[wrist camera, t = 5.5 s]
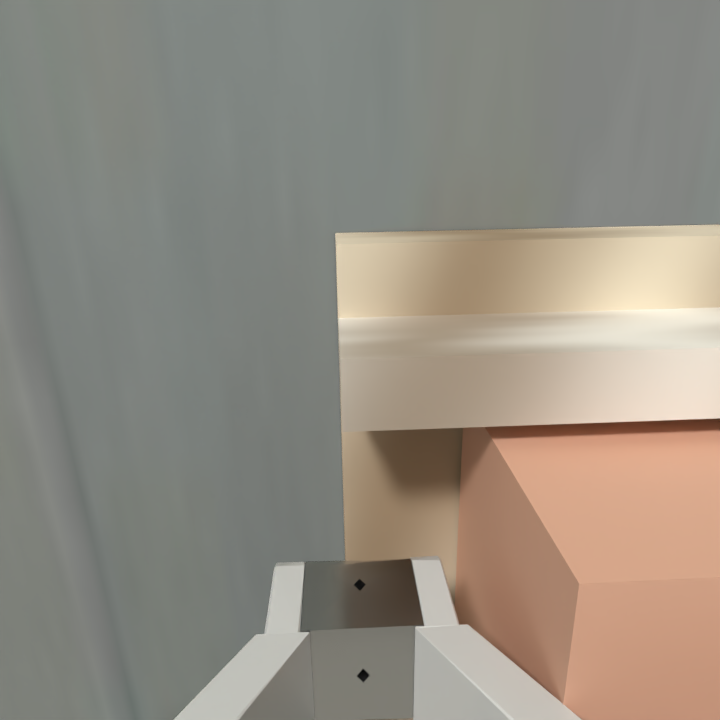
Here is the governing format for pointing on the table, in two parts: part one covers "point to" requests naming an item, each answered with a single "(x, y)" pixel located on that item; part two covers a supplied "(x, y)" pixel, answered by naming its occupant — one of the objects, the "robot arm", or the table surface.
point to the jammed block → (597, 561)
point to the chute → (506, 355)
